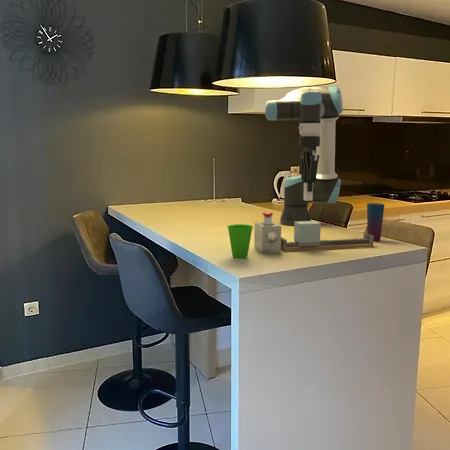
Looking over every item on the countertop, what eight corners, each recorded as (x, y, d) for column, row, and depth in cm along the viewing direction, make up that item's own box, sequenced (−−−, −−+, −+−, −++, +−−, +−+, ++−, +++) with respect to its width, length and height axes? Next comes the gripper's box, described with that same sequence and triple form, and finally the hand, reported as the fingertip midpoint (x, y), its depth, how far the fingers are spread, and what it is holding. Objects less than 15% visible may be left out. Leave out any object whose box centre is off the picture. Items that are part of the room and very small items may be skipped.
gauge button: (261, 233, 185) (261, 212, 183) (270, 232, 185) (270, 211, 184) (264, 234, 181) (264, 213, 180) (273, 234, 182) (274, 213, 181)
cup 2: (384, 239, 205) (386, 203, 202) (379, 242, 199) (381, 205, 197) (368, 238, 208) (370, 202, 206) (362, 240, 203) (364, 204, 200)
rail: (278, 248, 188) (278, 236, 188) (365, 244, 196) (366, 233, 196) (284, 251, 183) (284, 240, 182) (373, 247, 191) (373, 235, 190)
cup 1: (248, 261, 168) (248, 229, 166) (223, 259, 171) (223, 227, 170) (256, 255, 176) (256, 225, 175) (232, 253, 180) (232, 223, 178)
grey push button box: (254, 248, 188) (254, 222, 187) (271, 247, 190) (272, 221, 188) (262, 254, 178) (263, 227, 177) (281, 253, 180) (281, 226, 178)
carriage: (293, 243, 190) (294, 221, 188) (313, 242, 191) (314, 220, 190) (299, 246, 184) (300, 224, 182) (319, 246, 186) (320, 223, 184)
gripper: (293, 135, 186) (291, 198, 190) (307, 135, 173) (305, 202, 177) (312, 135, 188) (310, 197, 192) (327, 135, 175) (325, 202, 179)
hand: (307, 200), depth 185 cm, fingers closed
